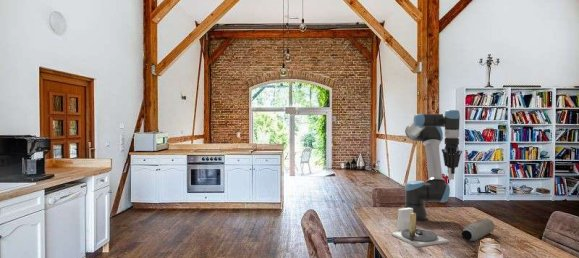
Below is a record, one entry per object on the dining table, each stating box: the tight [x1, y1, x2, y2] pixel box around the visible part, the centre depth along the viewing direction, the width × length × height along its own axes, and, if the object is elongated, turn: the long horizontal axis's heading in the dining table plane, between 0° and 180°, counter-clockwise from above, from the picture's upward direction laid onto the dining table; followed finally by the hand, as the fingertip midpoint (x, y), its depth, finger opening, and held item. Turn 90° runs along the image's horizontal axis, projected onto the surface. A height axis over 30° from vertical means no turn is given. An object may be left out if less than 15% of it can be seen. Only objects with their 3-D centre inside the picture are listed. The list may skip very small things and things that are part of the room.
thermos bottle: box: [461, 217, 495, 242], centre depth 197 cm, size 8×8×28 cm
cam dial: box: [400, 213, 439, 241], centre depth 194 cm, size 18×18×13 cm
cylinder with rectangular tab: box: [396, 207, 413, 232], centre depth 210 cm, size 9×9×12 cm
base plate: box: [391, 231, 449, 247], centre depth 194 cm, size 20×20×3 cm
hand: (451, 179), depth 207 cm, fingers closed
